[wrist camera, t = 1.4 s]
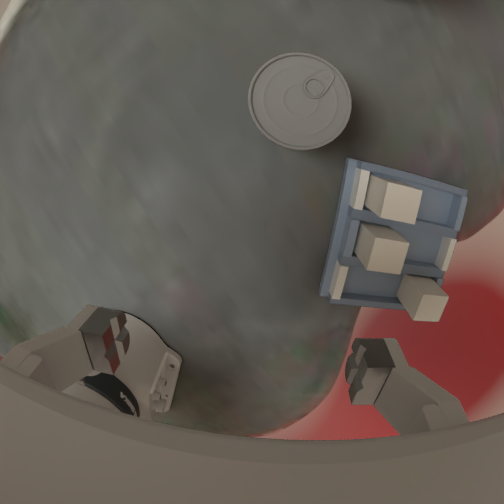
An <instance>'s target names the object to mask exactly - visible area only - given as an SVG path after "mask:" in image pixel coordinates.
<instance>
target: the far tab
mask: <svg viewBox="0 0 504 504" xmlns="http://www.w3.org/2000/svg"><path fill="white" fill-rule="evenodd" d="M396 296H397V297H398V299H399V300H400V302H401V303H402V305H403V306H404V308H405V309H406V310H407V312H408V313H409V315H410V316H411V318H412V319H413V320H414V321H434V322H438V321H439V319H440V317H441V315H442V313H443V310H444V308H445V306H446V303H447V301H448V298H449V296H448V295H447V294H446V293H445V292H444V291H443V290H442V289H441V288H440V287H439V286H438V285H437V283H436V282H435V281H434V280H433V279H432V278H431V277H429V276H422V275H414V274H406V273H404V274H403V277H402V280H401V283H400V286H399V289H398V292H397V294H396Z"/></svg>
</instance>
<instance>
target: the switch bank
mask: <svg viewBox="0 0 504 504" xmlns="http://www.w3.org/2000/svg"><path fill="white" fill-rule="evenodd" d="M370 174H372V175H376V176H381V177H385V178H389V179H393V180H397V181H400V182H403V183H405V184H408V185H410V186H413V187H415V188H418V189H420V190H422V191H423V192H422V196H421V201H420V205H419V209H418V213H417V217H416V221H415V225H414V224H409V223H405V222H400V221H395V220H390V219H384V218H380V217H379V216H378V215H376V214H375V213H374V212H372V211H371V210H370V209H369V208H367V207H366V206H365V205H364V200H365V195H366V190H367V185H368V180H369V175H370ZM467 192H468V191H467V190H465V189H462V188H459V187H456V186H453V185H450V184H447V183H444V182H441V181H437V180H434V179H431V178H427V177H424V176H420V175H417V174H413V173H409V172H406V171H402V170H398V169H394V168H390V167H386V166H382V165H378V164H374V163H369V162H365V161H360V160H356V159H351V158H346V162H345V168H344V174H343V179H342V185H341V190H340V196H339V201H338V206H337V211H336V216H335V221H334V226H333V231H332V235H331V240H330V244H329V249H328V253H327V258H326V262H325V266H324V271H323V275H322V279H321V283H320V287H319V295H320V296H326V297H328V300H329V303H332V304H342V305H352V306H363V307H374V308H386V309H398V310H406V309H405V308H404V306H403V305H402V303H401V302H400V300H399V299H398V297H397V296H396V294H397V292H398V289H399V286H400V283H401V280H402V277H403V274H404V273H406V274H414V275H422V276H429V277H431V278H432V279H433V280H434V281H435V282H436V283H437V285H438V286H439V287H440V288H441V286H442V283H443V281H444V280H443V275H444V273H445V271H447V269H448V267H449V263H450V261H451V257H452V254H453V251H454V248H455V244H456V242H457V240H456V235H457V232H458V231H460V228H461V224H462V220H463V216H464V213H465V208H466V204H467V200H468V198H467V197H466V196H467ZM360 221H365V222H370V223H376V224H381V225H387V226H390V227H391V228H392V229H393V230H394V231H396V232H397V233H398V234H399V235H400V236H402V237H403V238H404V239H405V240H406V241H407V242H409V243H410V244H409V247H408V251H407V254H406V257H405V261H404V264H403V267H402V270H401V273H400V275H399V274H392V273H384V272H376V271H369V270H366V269H365V267H364V266H363V264H362V263H361V261H360V260H359V258H358V257H357V255H356V254H355V252H354V251H353V249H354V245H355V241H356V236H357V232H358V228H359V223H360Z"/></svg>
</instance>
